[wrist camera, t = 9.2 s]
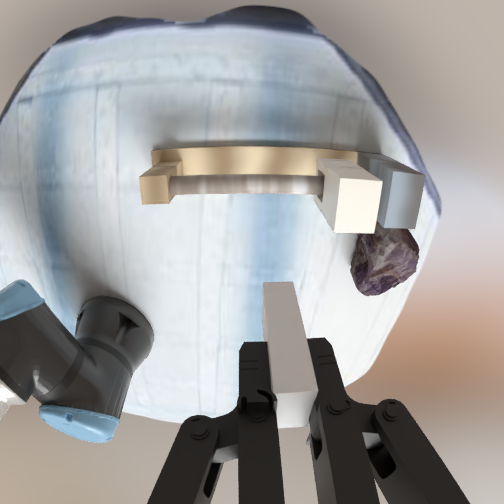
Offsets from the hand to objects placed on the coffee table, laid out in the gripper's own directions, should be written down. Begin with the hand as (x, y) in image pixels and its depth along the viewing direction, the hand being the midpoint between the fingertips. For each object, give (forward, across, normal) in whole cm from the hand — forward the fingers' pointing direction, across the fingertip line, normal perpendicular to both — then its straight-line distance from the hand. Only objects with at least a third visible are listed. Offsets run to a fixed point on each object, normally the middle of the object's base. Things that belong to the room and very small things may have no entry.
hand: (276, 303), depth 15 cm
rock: (+25, +17, -8) cm, 31 cm away
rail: (+25, +2, +2) cm, 25 cm away
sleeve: (+20, +8, +1) cm, 22 cm away
